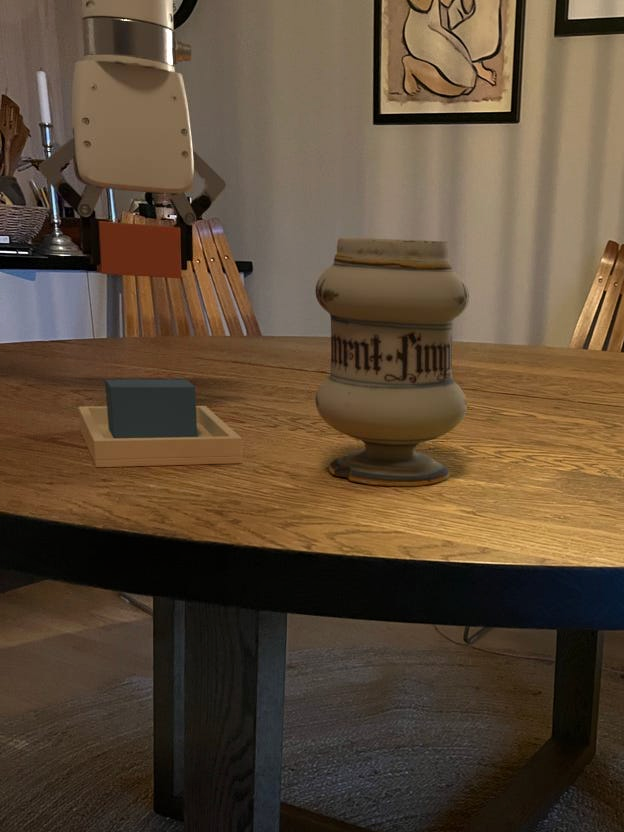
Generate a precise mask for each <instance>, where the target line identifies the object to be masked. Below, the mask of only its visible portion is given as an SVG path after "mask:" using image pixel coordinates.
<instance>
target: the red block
mask: <svg viewBox="0 0 624 832" xmlns="http://www.w3.org/2000/svg"><path fill="white" fill-rule="evenodd" d="M98 223H99V241H100V259H101V264H99V265H96V271H97V272H99V273H100V274H102V275H114V276H115V275H116V276H132V277H150V278H151V277H152V278H167V279H168V278H170V279H182V270H181V244H180V228H178V227H173V226H169V225H168V226H167V225H153V224H142V223H141V224H139V223H128V222H115V221H114V222H113V221H103V220H99V222H98Z"/></svg>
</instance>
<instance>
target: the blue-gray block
mask: <svg viewBox="0 0 624 832" xmlns="http://www.w3.org/2000/svg"><path fill="white" fill-rule="evenodd" d="M104 384H105V385H104V386H105V399H106V406H107V413H108V427H109V431H110V432H111V434H112V436H113V438H114V439H116V438H172V437H197V417H196V406H197V401H196V400H197V393H196V387H195V385H194V384H192V383H191V382H190V381H189V380H187V379H116V378H115V379H113V378H112V379H110V378H109V379H105V380H104Z"/></svg>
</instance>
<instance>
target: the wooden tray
mask: <svg viewBox="0 0 624 832" xmlns="http://www.w3.org/2000/svg"><path fill="white" fill-rule="evenodd" d="M77 410H78V423H79V431H80V434H81V435H82V437H83V438H82V439H83V441H84V442H85V445H86V448H87V450H88V452H89V454H90V457H91V459H92V462H93V465H94V466H95V468H122V467H123V468H125V467H126V468H127V467H158V466H159V467H161V466H198V465H200V466H201V465H233V464H236V465H237V464H243V438H242V437H241V436H240V435H239V434H237V433H236V432H235V431H234V430H233V429H232V428H231V427H229V425H227V423H225V422H224V421H223V420H222V419H221V418H220V417H218V415H216V414H215V413H214V412H213V411H212V410H211V409H210V408H209V407H208V406H206V405H196V417H197V437H172V438H116V439H114V438H113V436H112V434H111V432H110V431H109V427H108V413H107V405H102V406H101V405H100V406H97V405H96V406H95V405H94V406H93V405H92V406H89V405H88V406H83V405H82V406H81V405H80V406H78V407H77Z"/></svg>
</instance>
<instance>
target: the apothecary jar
mask: <svg viewBox="0 0 624 832" xmlns="http://www.w3.org/2000/svg"><path fill="white" fill-rule="evenodd" d="M333 258H334V259H333V264H331V266H329V267H328V268H327V269H325V270H324V271H323V272H322V273H321V275H320V276H319V277H318V279H317V281H316V285H315V298H316V300H317V302H318V304H319V305H320V307H321V308H322V309H323V310H324V311H326V312H327V313H328V314H329V316H330V373H329V376H328V377H327V378H326V379H325V380H324V381H322V383H320V385H319V387H318V389H317V391H316V394H315V407H316V410H317V412H318V414H319V416H320V418H322V420H323V421H324V422H325V423H326V424H327V425H328V426H329V427H331V428H332V429H334V430H336V431H337V432H339V433H341V434H343V435H346V436H348V437H351V438H354V439H356V440H359V441H361V442H363V444H364V449H361V450H360V449H359V450H356V451H353V452H349V453H348V454H346V455H343V456H339V457H338V458H334V460H333V461H331V463H329V465H328V471H329V474H331V475H332V476H334V477H341V478H346V479H347V480H348V481H349V482H352V483H356V484H363V485H370V486H379V487H380V486H381V487H399V488H400V487H404V488H405V487H422V486H429V485H435V484H439V483H441V482H444V481H445V480H448V478H449V477H450V475H451V474H450V473H451V472H450V469H449V468H448V467H447V466H446V465H445V464H443V463H441V462H439V461H438V460H436V459H434V458H432V457H431V456H430V455H428V454H426V453H423V452H418V451H416V447H417V446H418V445H419V444H420V443H425V442H429V441H433V440H435V439H438V438H440V437H442V436H444V435H446V434H448V433H449V432H451V431H452V430H454V429H455V428H456V427H457V426H458V425H459V424H460V423H461V422H462V421H463V419H464V418H465V417H466V413H467V409H468V402H467V398H466V395H465V393H464V391H463V390H462V388H461V387H460V385H458V384H457V382H456V381H455V380H454V379H453V328H454V327H453V325H454V321H455V319H456V318H458V317H460V316H461V315H462V314H463V313H464V312H465V311H466V309H467V308H468V305H469V301H470V292H469V288H468V286H467V284H466V282H465V281H464V280H463V278H462V277H461V276H460V275H458V273H456V272H455V271H454V270H453V267H452V263H451V260H450V245H449V242H448V241H443V240H421V239H420V240H418V239H394V238H393V239H392V238H373V237H372V238H368V237H339V238H338V239H337V244H336V254H335V255H334V257H333Z"/></svg>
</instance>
